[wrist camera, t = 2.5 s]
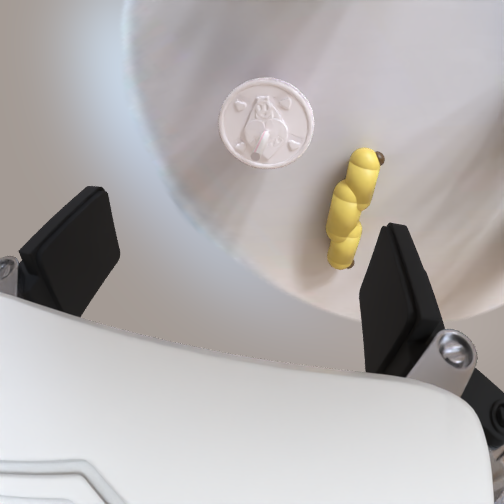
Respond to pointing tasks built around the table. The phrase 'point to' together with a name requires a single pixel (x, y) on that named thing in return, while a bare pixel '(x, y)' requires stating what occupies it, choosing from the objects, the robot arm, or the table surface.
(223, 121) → the smoothie
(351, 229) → the yellow lumpy bar
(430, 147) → the table surface
